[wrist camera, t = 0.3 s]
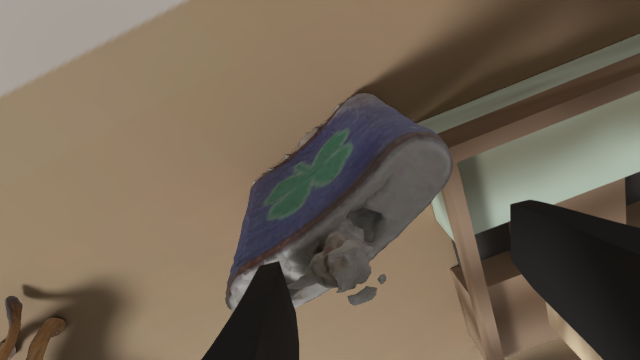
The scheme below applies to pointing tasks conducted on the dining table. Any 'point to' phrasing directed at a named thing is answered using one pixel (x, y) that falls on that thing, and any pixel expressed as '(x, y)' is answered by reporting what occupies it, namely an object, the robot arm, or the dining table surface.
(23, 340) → the dining table surface
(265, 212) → the flask
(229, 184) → the dining table surface
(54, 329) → the lion figurine
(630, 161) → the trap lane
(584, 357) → the maple block
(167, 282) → the dining table surface
